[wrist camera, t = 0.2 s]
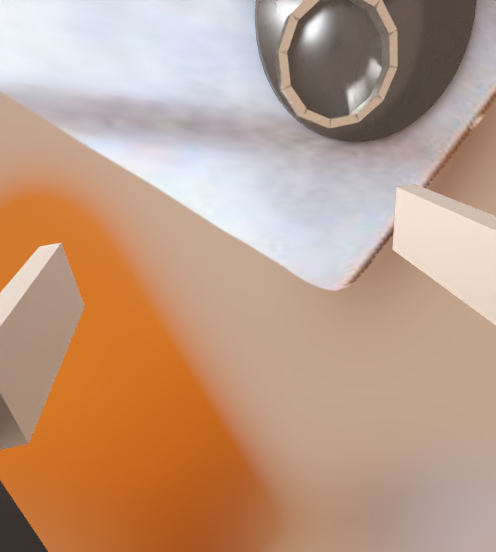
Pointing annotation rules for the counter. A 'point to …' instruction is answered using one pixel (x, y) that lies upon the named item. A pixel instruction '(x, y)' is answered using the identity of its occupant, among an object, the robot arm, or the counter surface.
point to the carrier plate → (361, 60)
